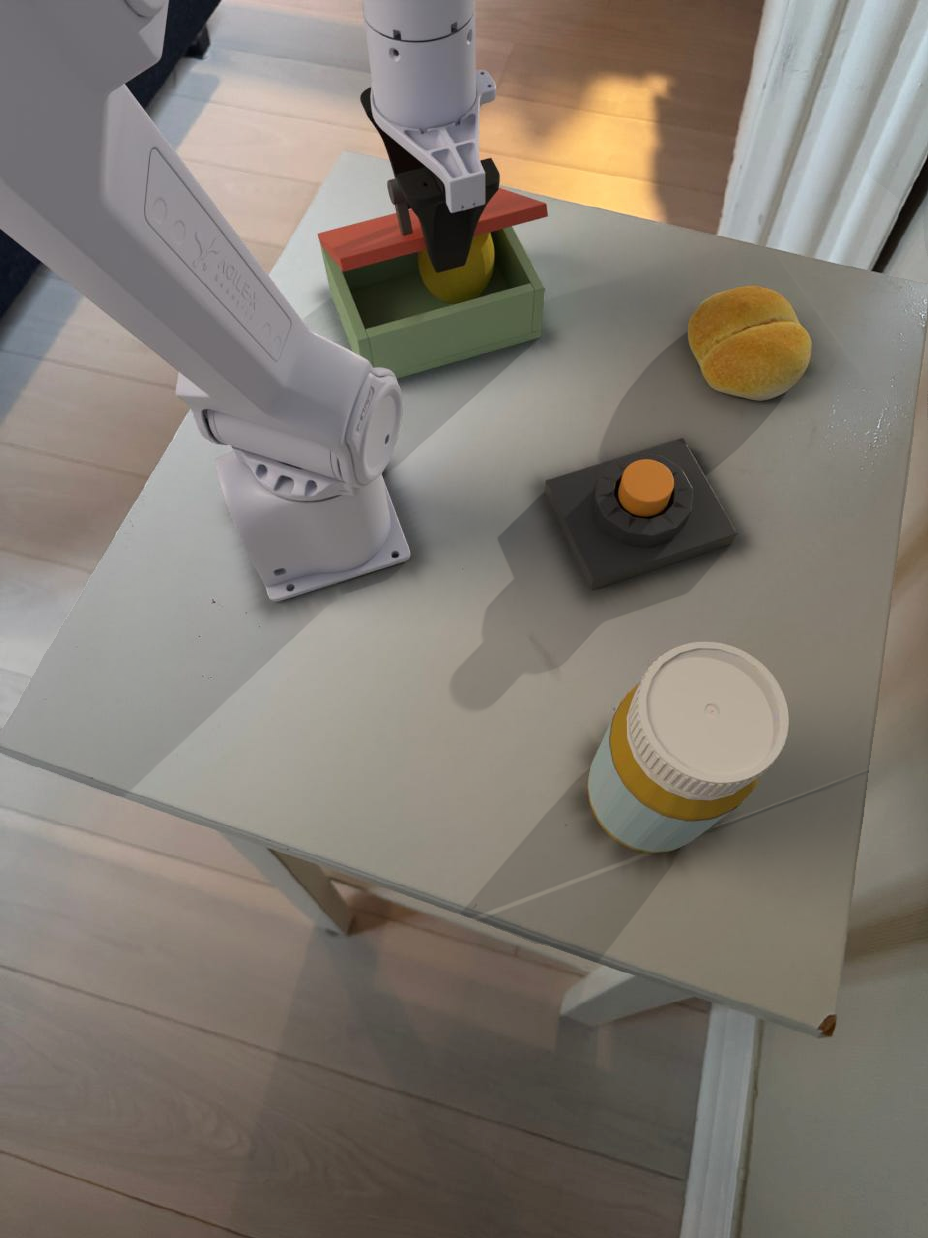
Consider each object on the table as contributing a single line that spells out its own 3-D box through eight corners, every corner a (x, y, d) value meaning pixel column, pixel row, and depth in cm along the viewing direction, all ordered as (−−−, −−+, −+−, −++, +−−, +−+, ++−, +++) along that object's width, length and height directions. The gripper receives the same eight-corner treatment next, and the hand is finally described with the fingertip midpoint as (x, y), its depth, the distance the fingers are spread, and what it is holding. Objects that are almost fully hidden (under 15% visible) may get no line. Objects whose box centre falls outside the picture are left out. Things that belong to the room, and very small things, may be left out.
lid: (548, 216, 53) (540, 145, 50) (343, 272, 51) (324, 201, 49) (498, 197, 61) (489, 136, 59) (320, 245, 59) (303, 183, 57)
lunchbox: (541, 337, 62) (545, 287, 57) (366, 388, 60) (357, 340, 56) (496, 250, 66) (497, 197, 61) (331, 295, 64) (319, 244, 60)
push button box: (590, 591, 53) (596, 569, 50) (544, 491, 56) (547, 465, 53) (731, 544, 54) (745, 520, 51) (678, 449, 57) (688, 422, 55)
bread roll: (717, 417, 58) (732, 378, 55) (671, 324, 62) (683, 282, 58) (825, 391, 59) (848, 351, 55) (774, 300, 63) (792, 258, 59)
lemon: (494, 326, 62) (495, 237, 55) (420, 327, 62) (411, 238, 55) (493, 272, 64) (495, 179, 57) (422, 272, 64) (414, 180, 57)
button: (630, 523, 52) (635, 508, 50) (609, 483, 53) (613, 467, 52) (677, 508, 52) (683, 493, 51) (655, 468, 54) (660, 452, 52)
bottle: (622, 876, 46) (681, 823, 32) (565, 762, 48) (597, 668, 35) (731, 824, 47) (834, 752, 33) (670, 715, 49) (742, 607, 36)
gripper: (544, 74, 40) (530, 294, 52) (448, -82, 46) (456, 149, 58) (404, 108, 39) (424, 323, 51) (324, -55, 45) (359, 174, 57)
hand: (434, 233), depth 54 cm, fingers open, 6 cm apart
